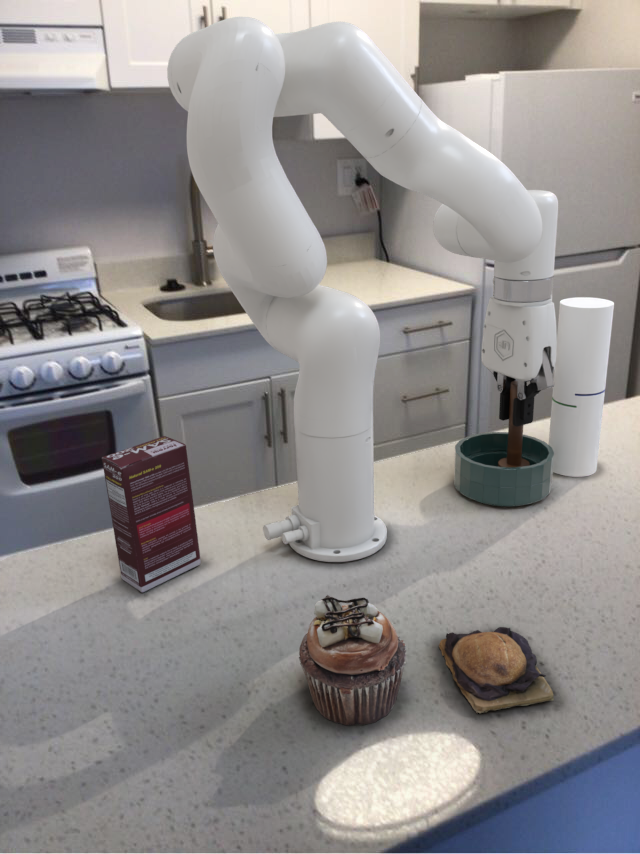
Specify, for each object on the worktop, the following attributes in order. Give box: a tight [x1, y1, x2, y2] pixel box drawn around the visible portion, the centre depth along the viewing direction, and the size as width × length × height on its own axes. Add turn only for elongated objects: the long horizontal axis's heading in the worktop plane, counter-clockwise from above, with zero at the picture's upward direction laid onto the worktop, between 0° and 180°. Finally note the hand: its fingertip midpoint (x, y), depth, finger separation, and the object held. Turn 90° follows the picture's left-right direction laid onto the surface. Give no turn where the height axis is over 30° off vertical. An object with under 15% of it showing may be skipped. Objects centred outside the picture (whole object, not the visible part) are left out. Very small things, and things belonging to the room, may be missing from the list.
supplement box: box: [101, 435, 202, 593], centre depth 87 cm, size 9×5×16 cm, turn 134°
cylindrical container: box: [548, 296, 615, 478], centre depth 109 cm, size 7×7×25 cm
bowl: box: [453, 431, 554, 508], centre depth 107 cm, size 13×13×6 cm
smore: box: [438, 626, 555, 714], centre depth 71 cm, size 11×8×4 cm
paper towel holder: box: [498, 381, 530, 467], centre depth 106 cm, size 4×4×13 cm
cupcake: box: [298, 594, 407, 726], centre depth 68 cm, size 10×10×10 cm
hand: (515, 420), depth 105 cm, fingers closed on paper towel holder, 2 cm apart
